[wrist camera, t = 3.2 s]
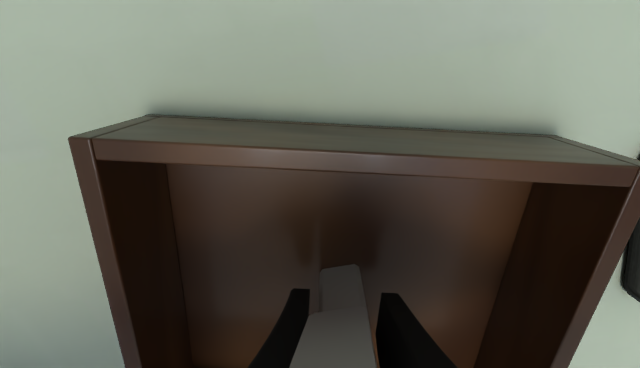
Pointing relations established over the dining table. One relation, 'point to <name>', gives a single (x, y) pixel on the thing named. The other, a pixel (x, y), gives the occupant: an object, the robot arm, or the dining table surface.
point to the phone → (633, 264)
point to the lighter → (337, 325)
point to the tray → (350, 233)
